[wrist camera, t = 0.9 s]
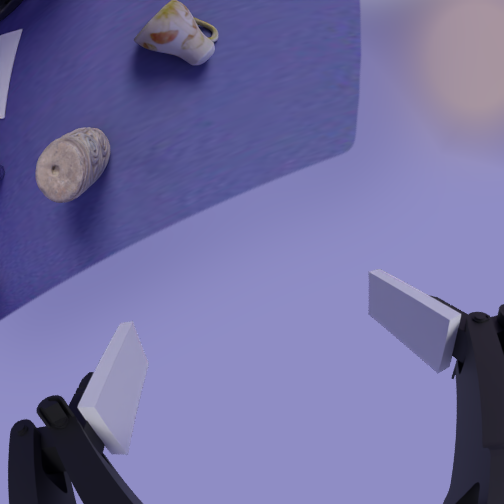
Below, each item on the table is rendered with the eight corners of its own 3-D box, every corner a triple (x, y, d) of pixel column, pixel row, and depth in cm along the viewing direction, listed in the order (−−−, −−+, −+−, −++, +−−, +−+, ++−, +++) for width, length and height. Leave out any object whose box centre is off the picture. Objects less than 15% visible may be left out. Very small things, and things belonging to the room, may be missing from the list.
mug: (197, 83, 31) (155, 63, 21) (155, 49, 30) (112, 28, 21) (237, 44, 28) (208, 10, 19) (191, 13, 27) (155, -18, 18)
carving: (68, 180, 31) (31, 207, 21) (73, 126, 28) (34, 131, 18) (110, 183, 33) (85, 211, 23) (116, 127, 30) (91, 131, 20)
